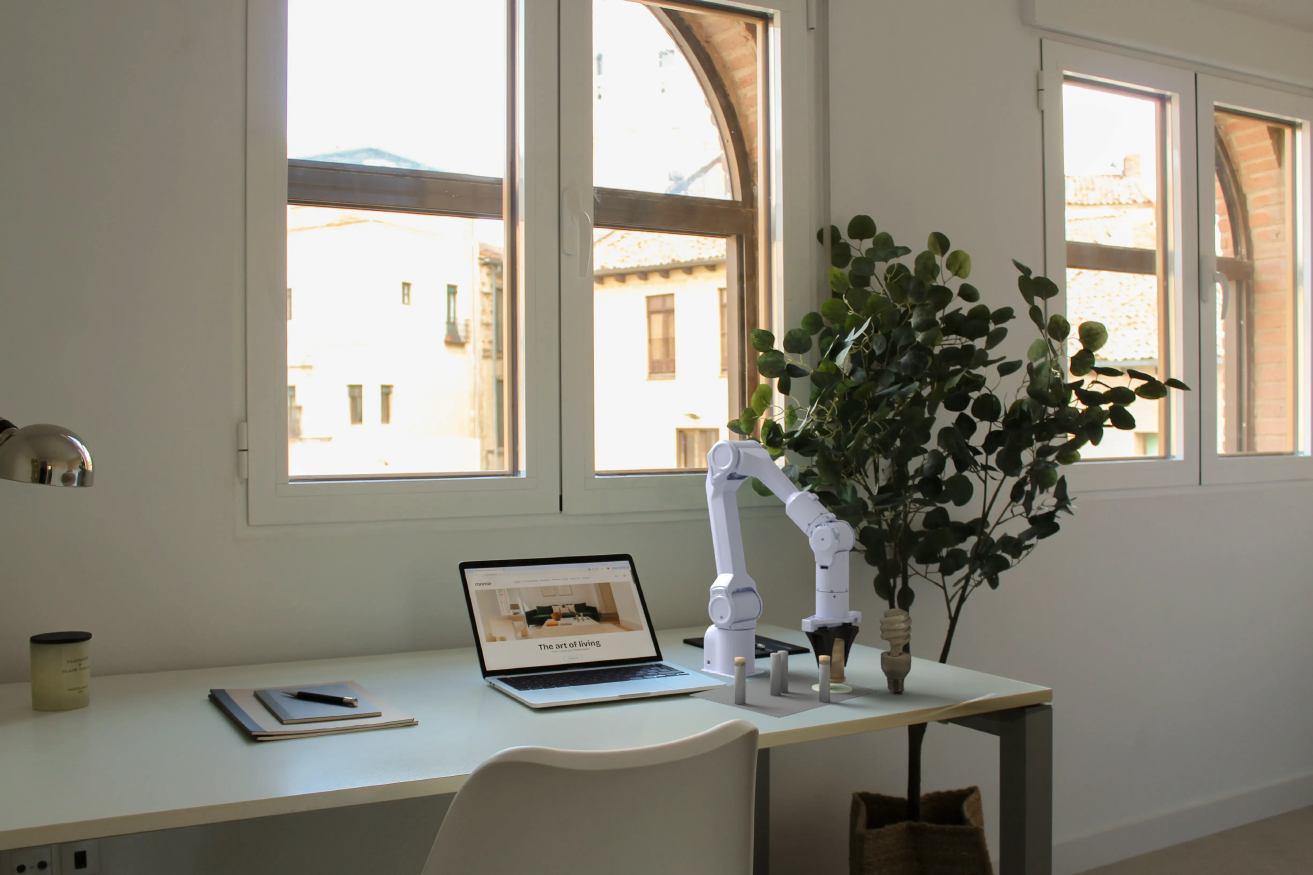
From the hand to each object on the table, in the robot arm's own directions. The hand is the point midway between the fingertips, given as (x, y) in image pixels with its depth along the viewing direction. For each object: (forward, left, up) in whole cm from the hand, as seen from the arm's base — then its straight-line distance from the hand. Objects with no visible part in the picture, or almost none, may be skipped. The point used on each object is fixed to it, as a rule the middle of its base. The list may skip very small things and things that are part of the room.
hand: (832, 668), depth 180 cm
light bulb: (+9, +6, -4) cm, 12 cm away
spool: (0, 0, -2) cm, 2 cm away
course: (-4, -8, -4) cm, 10 cm away
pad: (0, 0, -4) cm, 4 cm away
